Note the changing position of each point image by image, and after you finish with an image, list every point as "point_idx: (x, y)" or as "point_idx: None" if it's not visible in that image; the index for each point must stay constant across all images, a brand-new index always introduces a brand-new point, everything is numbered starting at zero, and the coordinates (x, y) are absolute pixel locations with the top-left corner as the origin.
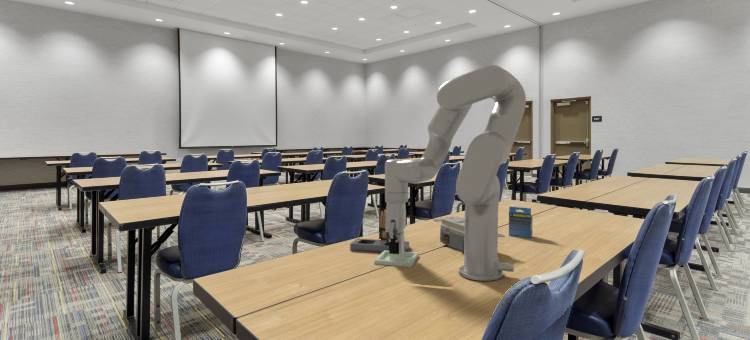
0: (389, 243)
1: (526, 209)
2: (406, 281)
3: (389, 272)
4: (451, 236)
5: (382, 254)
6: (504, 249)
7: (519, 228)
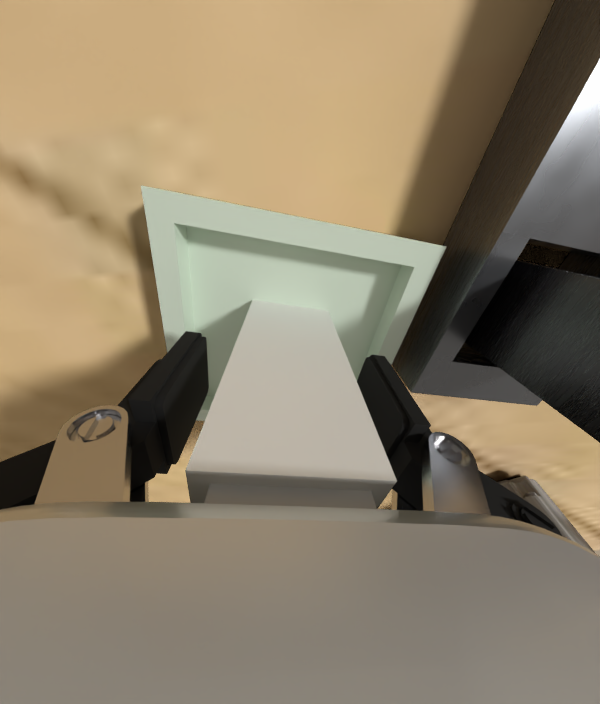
0: (142, 386)
1: None
2: (5, 392)
3: (78, 311)
4: None
5: (321, 245)
6: None
7: None
